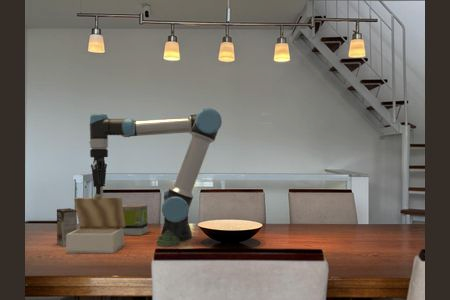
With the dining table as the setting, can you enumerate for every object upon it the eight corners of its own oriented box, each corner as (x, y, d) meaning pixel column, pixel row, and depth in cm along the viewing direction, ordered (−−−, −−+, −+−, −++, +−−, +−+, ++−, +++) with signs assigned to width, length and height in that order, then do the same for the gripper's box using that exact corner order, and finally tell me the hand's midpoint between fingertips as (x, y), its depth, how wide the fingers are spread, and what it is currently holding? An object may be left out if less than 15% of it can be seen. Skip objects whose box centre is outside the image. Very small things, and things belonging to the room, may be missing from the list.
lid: (124, 229, 172) (125, 227, 174) (119, 198, 167) (121, 196, 169) (78, 229, 173) (80, 227, 175) (72, 198, 168) (74, 196, 170)
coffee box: (56, 243, 179) (56, 209, 179) (70, 241, 183) (70, 207, 183) (62, 247, 172) (62, 211, 172) (77, 244, 176) (76, 209, 176)
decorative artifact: (155, 243, 178) (158, 248, 168) (155, 228, 178) (157, 232, 168) (177, 241, 181) (180, 246, 171) (177, 226, 181) (180, 230, 171)
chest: (123, 245, 173) (123, 227, 173) (113, 253, 159) (112, 234, 159) (80, 245, 174) (80, 228, 174) (66, 253, 160) (66, 234, 160)
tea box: (148, 231, 204) (147, 204, 205) (142, 235, 194) (141, 206, 195) (120, 231, 206) (120, 204, 206) (113, 235, 196) (113, 206, 196)
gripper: (96, 149, 178) (97, 199, 178) (84, 148, 165) (85, 203, 165) (112, 148, 178) (112, 199, 177) (101, 148, 165) (102, 203, 164)
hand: (99, 201), depth 171 cm, fingers closed
